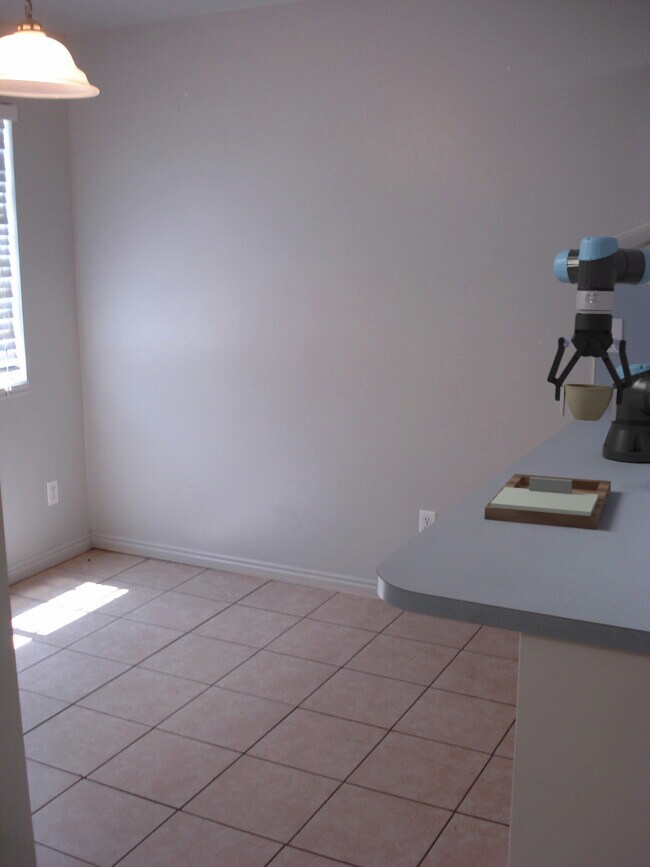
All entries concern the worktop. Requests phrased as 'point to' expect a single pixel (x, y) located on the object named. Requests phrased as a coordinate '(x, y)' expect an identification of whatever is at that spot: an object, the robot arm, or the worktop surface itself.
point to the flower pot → (588, 400)
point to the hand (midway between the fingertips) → (587, 418)
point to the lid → (546, 498)
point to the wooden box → (554, 518)
